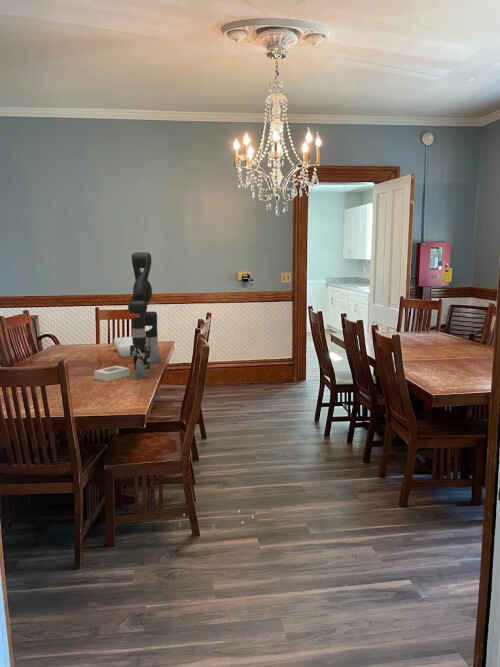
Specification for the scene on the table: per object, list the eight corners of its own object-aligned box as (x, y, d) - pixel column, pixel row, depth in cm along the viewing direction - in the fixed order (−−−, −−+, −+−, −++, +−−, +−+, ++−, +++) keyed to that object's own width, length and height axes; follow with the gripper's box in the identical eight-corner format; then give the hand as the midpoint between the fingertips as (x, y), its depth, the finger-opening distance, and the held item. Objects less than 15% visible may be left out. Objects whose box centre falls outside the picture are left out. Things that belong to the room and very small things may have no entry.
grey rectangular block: (140, 376, 297) (139, 360, 295) (144, 377, 294) (144, 361, 293) (131, 378, 292) (130, 362, 290) (136, 379, 289) (135, 363, 288)
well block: (117, 373, 305) (116, 365, 304) (130, 375, 297) (129, 368, 297) (94, 378, 292) (93, 370, 292) (107, 381, 285) (106, 373, 284)
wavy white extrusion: (141, 357, 348) (141, 342, 347) (116, 359, 343) (116, 343, 341) (136, 348, 381) (135, 334, 379) (113, 349, 376) (112, 335, 374)
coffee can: (151, 371, 308) (150, 348, 306) (134, 372, 306) (132, 349, 303) (150, 367, 318) (149, 345, 316) (133, 368, 315) (132, 346, 313)
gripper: (152, 336, 289) (153, 364, 292) (136, 334, 298) (137, 361, 300) (142, 338, 283) (143, 366, 286) (125, 335, 292) (127, 363, 295)
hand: (140, 364), depth 293 cm, fingers open, 8 cm apart
